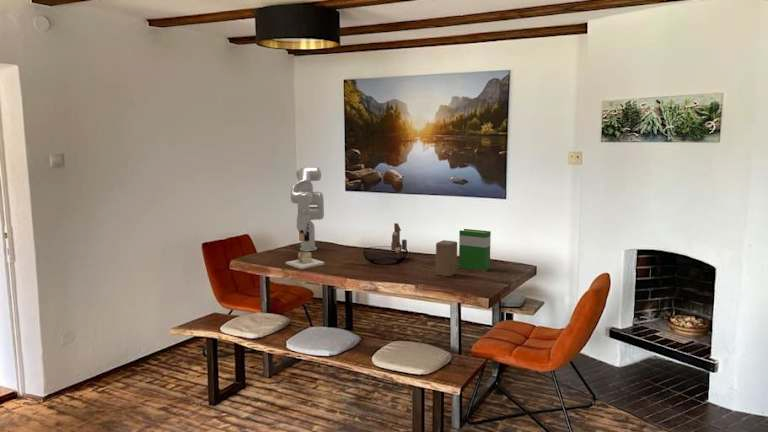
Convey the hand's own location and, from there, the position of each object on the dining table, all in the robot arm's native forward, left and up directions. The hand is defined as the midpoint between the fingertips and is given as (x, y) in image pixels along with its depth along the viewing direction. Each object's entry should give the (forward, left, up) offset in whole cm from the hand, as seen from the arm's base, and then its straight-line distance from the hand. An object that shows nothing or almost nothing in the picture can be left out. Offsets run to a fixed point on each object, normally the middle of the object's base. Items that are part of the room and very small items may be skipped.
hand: (304, 240), depth 364 cm
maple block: (0, 0, -14) cm, 14 cm away
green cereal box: (+83, +71, -16) cm, 110 cm away
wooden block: (+81, +47, -16) cm, 95 cm away
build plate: (0, 0, -16) cm, 16 cm away
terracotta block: (0, 0, -1) cm, 1 cm away
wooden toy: (+33, +53, -16) cm, 65 cm away
